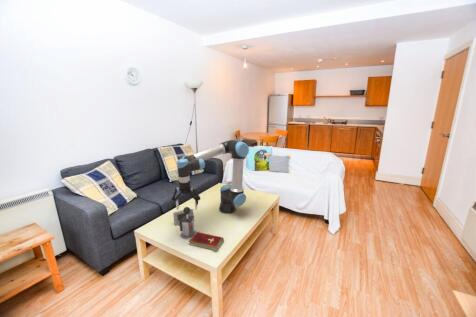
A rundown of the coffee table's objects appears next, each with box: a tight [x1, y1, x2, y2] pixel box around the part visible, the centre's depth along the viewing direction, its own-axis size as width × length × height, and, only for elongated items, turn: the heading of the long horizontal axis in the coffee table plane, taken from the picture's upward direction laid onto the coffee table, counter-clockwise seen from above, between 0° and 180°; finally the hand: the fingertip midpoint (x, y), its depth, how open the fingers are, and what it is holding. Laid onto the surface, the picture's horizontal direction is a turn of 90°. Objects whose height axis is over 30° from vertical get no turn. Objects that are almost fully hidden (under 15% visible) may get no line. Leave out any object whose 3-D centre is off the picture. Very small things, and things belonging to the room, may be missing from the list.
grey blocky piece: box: [179, 215, 195, 237], centre depth 161 cm, size 10×8×13 cm
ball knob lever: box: [182, 206, 191, 219], centre depth 159 cm, size 5×5×19 cm
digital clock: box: [172, 208, 195, 227], centre depth 178 cm, size 16×9×11 cm, turn 101°
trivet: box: [180, 229, 198, 240], centre depth 162 cm, size 12×12×1 cm
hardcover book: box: [187, 231, 224, 253], centre depth 152 cm, size 12×21×4 cm, turn 70°
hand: (187, 208), depth 157 cm, fingers open, 13 cm apart
